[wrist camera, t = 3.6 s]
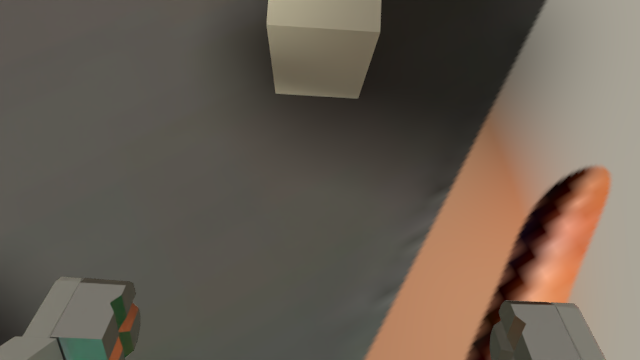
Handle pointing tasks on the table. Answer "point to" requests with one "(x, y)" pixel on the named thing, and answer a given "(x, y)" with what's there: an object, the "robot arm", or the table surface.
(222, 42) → the table surface
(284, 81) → the stone block
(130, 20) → the table surface
